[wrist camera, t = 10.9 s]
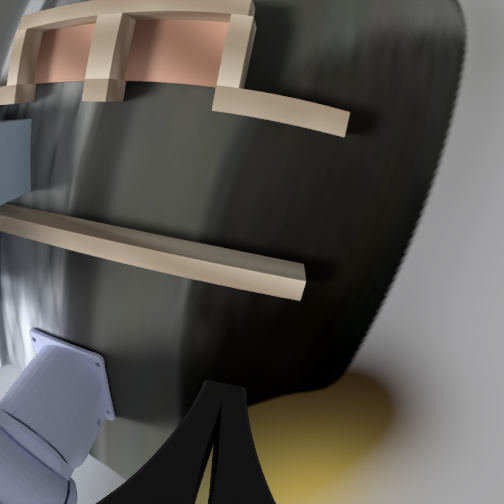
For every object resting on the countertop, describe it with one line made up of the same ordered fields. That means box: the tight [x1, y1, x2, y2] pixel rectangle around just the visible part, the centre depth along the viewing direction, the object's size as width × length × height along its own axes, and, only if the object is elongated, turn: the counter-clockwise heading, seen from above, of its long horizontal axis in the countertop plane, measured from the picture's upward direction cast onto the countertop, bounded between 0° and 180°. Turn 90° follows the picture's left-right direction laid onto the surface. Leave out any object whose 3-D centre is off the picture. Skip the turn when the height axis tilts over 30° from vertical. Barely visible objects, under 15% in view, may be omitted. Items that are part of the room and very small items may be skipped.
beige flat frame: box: [0, 0, 350, 301], centre depth 14 cm, size 14×25×3 cm, turn 80°
